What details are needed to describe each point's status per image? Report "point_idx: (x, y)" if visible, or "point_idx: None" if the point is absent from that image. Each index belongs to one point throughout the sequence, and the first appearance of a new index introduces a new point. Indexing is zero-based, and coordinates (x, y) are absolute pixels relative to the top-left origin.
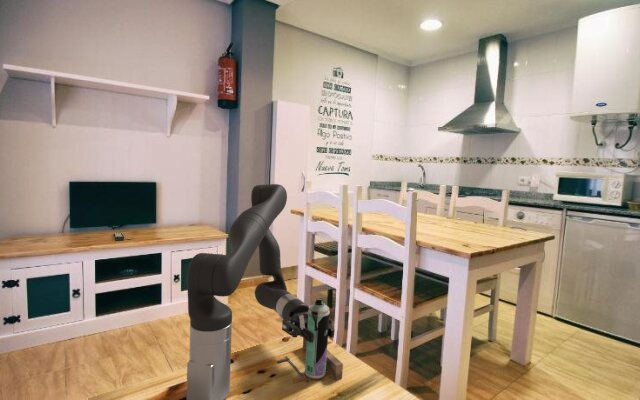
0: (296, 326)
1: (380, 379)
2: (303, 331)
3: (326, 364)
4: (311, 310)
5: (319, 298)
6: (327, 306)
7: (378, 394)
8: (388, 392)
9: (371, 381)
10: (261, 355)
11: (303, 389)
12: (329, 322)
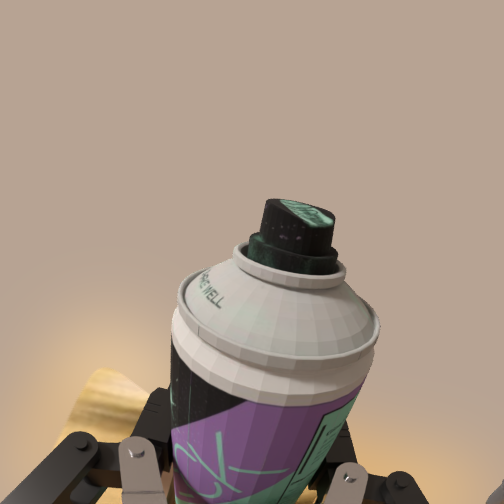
0: (392, 493)
1: (79, 401)
2: (351, 456)
3: None
4: (366, 306)
5: (290, 213)
6: (185, 283)
7: (138, 386)
8: (115, 375)
9: (102, 413)
10: None
11: (300, 496)
12: (99, 446)
